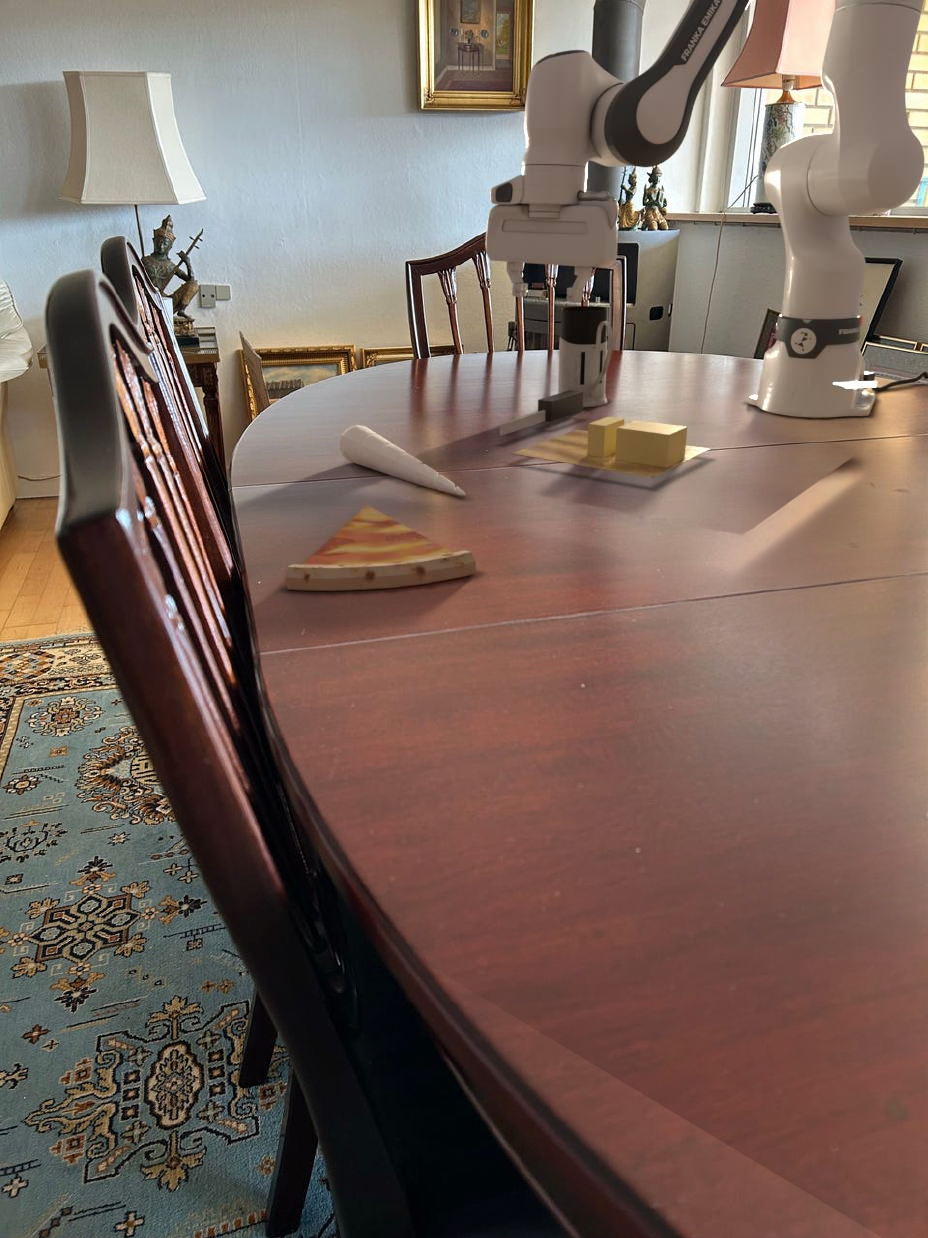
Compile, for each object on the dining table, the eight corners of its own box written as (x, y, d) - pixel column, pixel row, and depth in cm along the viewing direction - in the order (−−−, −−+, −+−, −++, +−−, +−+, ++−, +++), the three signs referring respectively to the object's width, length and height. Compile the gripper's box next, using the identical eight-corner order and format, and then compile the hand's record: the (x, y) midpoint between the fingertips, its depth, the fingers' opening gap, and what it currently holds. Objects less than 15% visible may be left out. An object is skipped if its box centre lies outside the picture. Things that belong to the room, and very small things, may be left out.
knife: (569, 418, 139) (570, 389, 137) (582, 420, 138) (583, 391, 136) (494, 444, 125) (493, 412, 123) (508, 446, 124) (508, 414, 122)
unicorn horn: (438, 505, 100) (437, 463, 98) (338, 463, 118) (335, 426, 116) (472, 497, 102) (472, 456, 100) (370, 457, 120) (367, 421, 118)
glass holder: (593, 395, 156) (596, 304, 149) (632, 410, 143) (637, 312, 137) (547, 399, 153) (548, 307, 147) (582, 415, 141) (586, 315, 135)
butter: (633, 451, 114) (635, 419, 113) (684, 458, 110) (687, 426, 109) (614, 459, 111) (616, 427, 109) (666, 467, 107) (669, 434, 105)
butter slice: (606, 446, 116) (607, 416, 115) (622, 449, 115) (624, 418, 113) (586, 455, 113) (588, 423, 111) (603, 457, 112) (604, 425, 110)
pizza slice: (507, 520, 95) (507, 502, 94) (459, 603, 75) (458, 581, 74) (367, 512, 98) (365, 495, 97) (286, 590, 79) (284, 569, 78)
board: (576, 439, 127) (576, 429, 126) (709, 459, 115) (710, 448, 115) (511, 464, 115) (511, 453, 115) (652, 489, 104) (653, 477, 103)
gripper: (631, 192, 117) (621, 303, 123) (508, 191, 129) (503, 293, 134) (606, 190, 112) (596, 305, 118) (480, 189, 124) (477, 294, 130)
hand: (546, 298), depth 126 cm, fingers open, 8 cm apart
